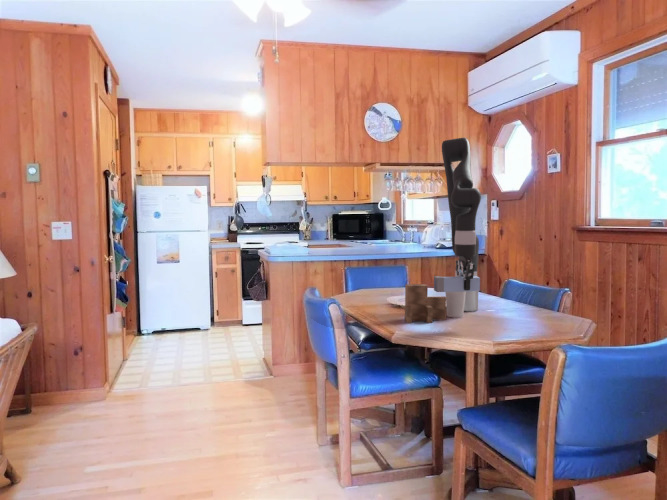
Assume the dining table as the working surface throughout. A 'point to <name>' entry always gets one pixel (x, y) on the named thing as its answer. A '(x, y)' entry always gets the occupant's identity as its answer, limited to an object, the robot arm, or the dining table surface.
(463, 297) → the coffee cup
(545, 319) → the dining table surface
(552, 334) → the dining table surface
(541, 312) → the dining table surface
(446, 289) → the grey rectangular bar
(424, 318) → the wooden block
